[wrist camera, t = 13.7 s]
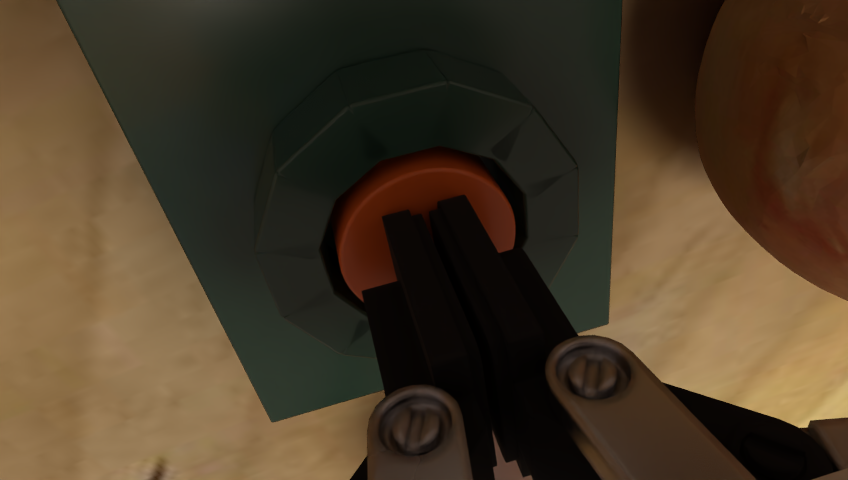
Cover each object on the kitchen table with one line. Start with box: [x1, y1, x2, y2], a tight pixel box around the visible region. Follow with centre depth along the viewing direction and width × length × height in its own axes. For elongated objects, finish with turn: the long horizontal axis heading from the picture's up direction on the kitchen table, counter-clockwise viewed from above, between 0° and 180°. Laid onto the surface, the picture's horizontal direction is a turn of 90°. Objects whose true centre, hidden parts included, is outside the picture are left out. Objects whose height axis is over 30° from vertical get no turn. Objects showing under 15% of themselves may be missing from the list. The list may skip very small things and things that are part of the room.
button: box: [330, 146, 515, 302], centre depth 13 cm, size 4×4×2 cm
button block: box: [56, 0, 622, 422], centre depth 14 cm, size 12×10×4 cm
